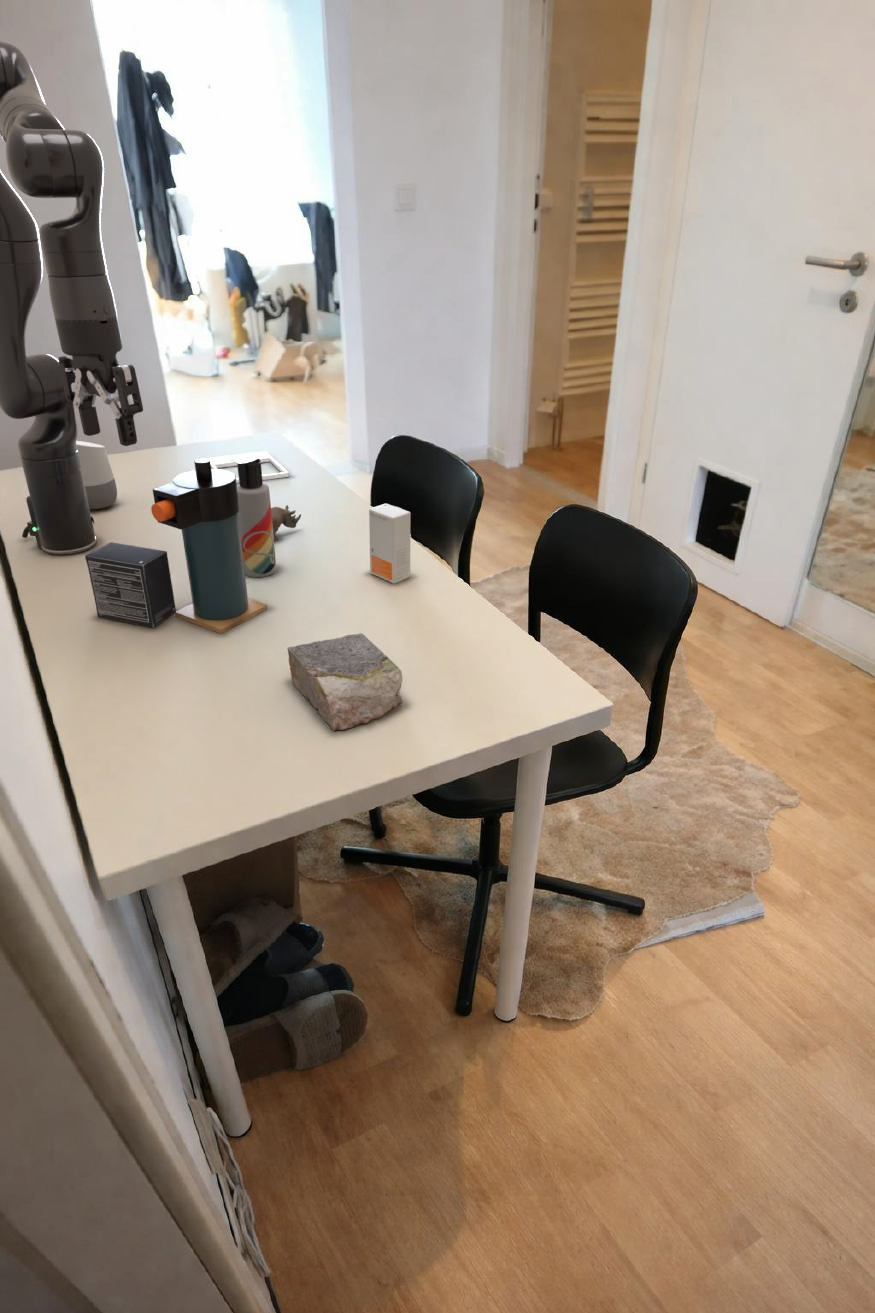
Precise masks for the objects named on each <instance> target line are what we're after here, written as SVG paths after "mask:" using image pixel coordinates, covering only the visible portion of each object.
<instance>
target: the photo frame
mask: <svg viewBox="0 0 875 1313" xmlns="http://www.w3.org/2000/svg"><path fill="white" fill-rule="evenodd" d="M246 457H258V458H259V459H260V460H261V464H262V463H269V462H270V463H271V464H272V465H273V466H274V467H275V468H276V469H277V470H278V471H279V472H275V473H267V474H262V480H263V481H266V480H274V479H281V478H288V477H290V472H289V471H288V470H287V469H286V468H285V467H283V465H281V463H280V462H278V460H276V459H275V458H274V457H273V456H272V455H271V454H269V452H268V451H257V452H247V453H241V454H232V455H223V456H215V457H207V458H206V459H210V463H211V469H220V468H229V467H236V466H237V462H238V461H239V460H241V459H243V458H246ZM236 483H237V484H239V477H236Z"/></svg>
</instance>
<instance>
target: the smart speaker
mask: <svg viewBox="0 0 875 1313" xmlns="http://www.w3.org/2000/svg"><path fill="white" fill-rule="evenodd" d="M76 445H77V451H78V455H79V460H80V465H81V469H82V474H83V479H84V484H85V489H86V494H87V499H88V503H89V508H90V512H96V511H97V512H98V511H102V510H106V509H108V508H110V507H112V506H114V504H115V503H116V501H117V498H118V489H117V488H118V487H117V483H116V479H115V475H114V472H113V469H112V466H111V463H110V459H109V456H108V452H107V450H106V447H105V445H102V444H99V443H93V442H90V441H89V442H88V441H81V440H76Z"/></svg>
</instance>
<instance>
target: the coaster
mask: <svg viewBox="0 0 875 1313" xmlns="http://www.w3.org/2000/svg"><path fill="white" fill-rule="evenodd" d="M248 604H249V606H248V609H247V611H246V612H245V613H243V614H242V615H240V616H238V617H235V618H232V619H227V620H206V619H202V618H200V617H198V616H197V615H196V614H195V613H194V610H193V603H190V604H188V605H186V606H184V607H182V608H180V609H178V610H176V612H175V613H174V615H175V617H177V618H179V619H181V620H184V621H186V622H190V623H191V624H195V625H197V626H200V627H203V628H205V629H208V630H210V631H212V632H215V633H218V634H221V635H222V634H224V633H226V632H228V631H230V630H232V629H233V628H235V627H237V626H239V625H241V624H242V623H244V622H246V621H248V620H250V619H252V618H253V617H256V616H257V615H259V614H261V613H263V612H265V611H266V610H268V604H266V603H263V602H260V601H259V600H255V599H251V598H249V597H248Z"/></svg>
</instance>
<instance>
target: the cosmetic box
mask: <svg viewBox="0 0 875 1313" xmlns="http://www.w3.org/2000/svg"><path fill="white" fill-rule="evenodd" d="M411 514H412V513H411V512H410V511H408V510H406V509H403V508H401V507H399V506H395V505H391V504H389V503H387V502H386V503H383V504H380V505H376V506H374V507H371V508H369V509H368V521H369V522H368V523H369V524H368V526H369V571H370V574H371V575H374V576H376V577H377V578H380V579H383V580H385V581H387V582H389V583H391V584H393V585H395V584H396V583H397V584H398V583H400V582H401V581H404V580H406V579H409V578H410V577H411Z"/></svg>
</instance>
